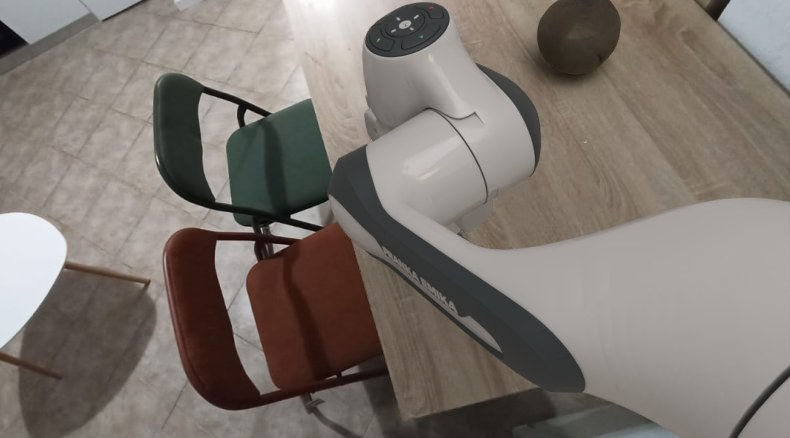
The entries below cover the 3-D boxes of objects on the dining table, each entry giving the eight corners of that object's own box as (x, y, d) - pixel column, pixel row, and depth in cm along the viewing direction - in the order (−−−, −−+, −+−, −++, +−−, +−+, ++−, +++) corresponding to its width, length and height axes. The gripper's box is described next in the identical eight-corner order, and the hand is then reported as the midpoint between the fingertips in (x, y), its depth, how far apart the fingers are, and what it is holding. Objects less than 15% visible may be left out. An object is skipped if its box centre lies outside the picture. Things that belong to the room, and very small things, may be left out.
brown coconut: (607, 36, 92) (632, -28, 79) (606, 90, 87) (633, 31, 74) (532, 38, 97) (545, -22, 84) (528, 89, 92) (540, 34, 79)
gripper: (344, 100, 54) (364, 158, 66) (458, 212, 44) (457, 257, 56) (384, 70, 55) (397, 134, 67) (507, 175, 45) (496, 227, 57)
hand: (425, 191), depth 61 cm, fingers closed on milk carton, 7 cm apart
